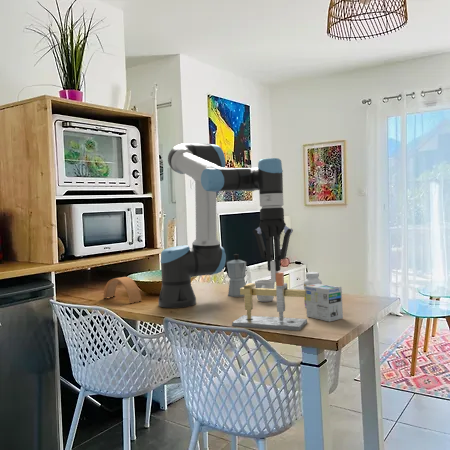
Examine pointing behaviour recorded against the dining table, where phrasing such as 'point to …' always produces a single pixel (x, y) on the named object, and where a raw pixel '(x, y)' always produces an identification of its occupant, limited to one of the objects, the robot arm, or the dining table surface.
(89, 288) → the dining table surface
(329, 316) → the light bulb box
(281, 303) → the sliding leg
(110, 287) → the arch
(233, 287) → the coffee maker
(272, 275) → the robot arm
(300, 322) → the bolt plate
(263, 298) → the cup
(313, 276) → the supplement bottle
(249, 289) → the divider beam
